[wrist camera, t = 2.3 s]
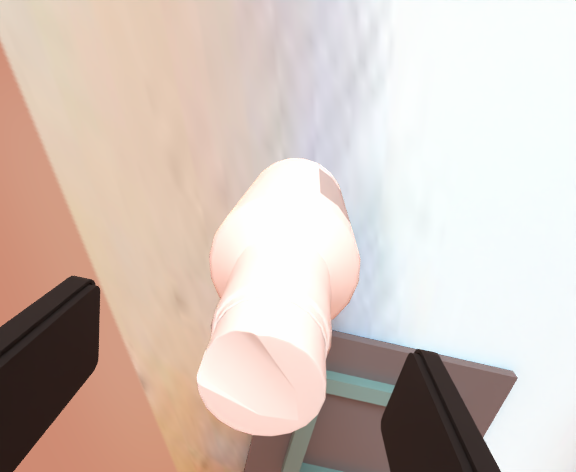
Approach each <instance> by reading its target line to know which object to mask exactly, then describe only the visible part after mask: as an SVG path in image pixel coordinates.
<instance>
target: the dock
mask: <svg viewBox="0 0 576 472" xmlns="http://www.w3.org/2000/svg"><path fill="white" fill-rule="evenodd" d="M415 350H417V349H413V348H408V347H404V346H400V345H395V344H391V343H386V342H382V341H377V340H373V339H369V338H364V337H360V336H355V335H351V334H346V333H342V332H338V331H333V330H332V337H331V348H330V350H329V352H328V355H327V358H326V381H327V384H326V399H325V401H324V403H323V405H322V407H321V409H320V411H319V413H318V415H317V416H316V417H315V418H314V419H313V420H311V421H310V422H309V423H308V424H307V425H306V426H304V427H302V428H300V429H298V430H296V431H294V432H291V433H288V434H282V435H277V436H259V435H253V437H252V441H251V445H250V449H249V453H248V457H247V461H246V465H245V469H244V472H390V468H389V463H388V459H387V455H386V450H385V446H384V442H383V437H382V433H381V419H382V416H383V413H384V411H385V408H386V406H387V404H388V401H389V399H390V396H391V394H392V392H393V389H394V387H395V384H396V382H397V380H398V377H399V375H400V372H401V370H402V368H403V365H404V363H405V360H406V358H407V356H408V354H409V353H414V352H415ZM438 355H439V354H438ZM439 356H440V358H441V360H442V362H443V364H444V366H445V367H446V369H447V371H448V373H449V375H450V377H451V379H452V381H453V383H454V384H455V386H456V388H457V390H458V392H459V394H460V396H461V398H462V399H463V401H464V403H465V405H466V407H467V409H468V411H469V413H470V415H471V416H472V418H473V420H474V422H475V424H476V426H477V428H478V430H479V431H480V433H481V435H482V437H484V435H485V433H486V431H487V430H488V428H489V426H490V425H491V423H492V421H493V419H494V418H495V416H496V414H497V413H498V411H499V409H500V407H501V406H502V404H503V402H504V401H505V399H506V397H507V395H508V394H509V392H510V390H511V389H512V387H513V385H514V383H515V382H516V380H517V376H516V375H515V374H514V372H513V371H510V370H506V369H501V368H497V367H492V366H488V365H484V364H479V363H475V362H470V361H466V360H461V359H457V358H453V357H448V356H444V355H439Z"/></svg>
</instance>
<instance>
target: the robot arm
mask: <svg viewBox="0 0 576 472" xmlns="http://www.w3.org/2000/svg"><path fill="white" fill-rule="evenodd" d="M99 314H100V288H99V287H98V286H95V282H94V281H93V280H91V279H87V278H82V277H77V276H71V277H69V278H67V279H66V280H65V281H63V282H62V283H60V284H59V285H58V286H56V287H55V288H54V289H52V290H51V291H49V292H48V293H47V294H45V295H44V296H43V297H41V298H40V299H38V300H37V301H36V302H34V303H33V304H31V305H30V306H29V307H27V308H26V309H25V310H23V311H22V312H21V313H19V314H18V315H16V316H15V317H14V318H12V319H11V320H10V321H8V322H7V323H5V324H4V325H2V326H1V327H0V472H13V471H14V470H15V469H16V468H17V466H18V465H19V464H20V463H21V461H22V460H23V459H24V458H25V456H26V455H27V454H28V453H29V451H30V450H31V449H32V447H33V446H34V445H35V444H36V443H37V441H38V440H39V439H40V438H41V436H42V435H43V434H44V433H45V431H46V430H47V429H48V428H49V426H50V425H51V424H52V423H53V421H54V420H55V419H56V418H57V416H58V415H59V414H60V413H61V411H62V410H63V408H65V406H66V405H67V404H68V403H69V401H70V400H71V399H72V397H73V396H74V395H75V394H76V392H77V391H78V390H79V389H80V387H81V386H82V385H83V384H84V383H85V381H86V380H87V379H88V378H89V376H90V375H91V374H92V373H93V371H94V370H95V367H96V365H97V362H98V351H99V350H98V349H99ZM381 433H382V437H383V442H384V446H385V450H386V455H387V459H388V463H389V468H390V472H501V471H500V469H499V467H498V465H497V463H496V462H495V460H494V458H493V456H492V454H491V452H490V450H489V448H488V447H487V445H486V443H485V441H484V439H483V437H482V435H481V433H480V431H479V430H478V428H477V426H476V424H475V422H474V420H473V418H472V416H471V415H470V413H469V411H468V409H467V407H466V405H465V403H464V401H463V399H462V398H461V396H460V394H459V392H458V390H457V388H456V386H455V384H454V383H453V381H452V379H451V377H450V375H449V373H448V371H447V369H446V367H445V366H444V364H443V362H442V360H441V358H440V356H439V355H438V354H437V353H435V352H430V351H425V350H421V349H417V350H415V352H414V353H409V354H408V356H407V358H406V360H405V363H404V365H403V368H402V370H401V372H400V375H399V377H398V380H397V382H396V384H395V387H394V389H393V392H392V394H391V396H390V399H389V401H388V404H387V406H386V408H385V411H384V413H383V416H382V419H381Z"/></svg>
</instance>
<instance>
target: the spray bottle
mask: <svg viewBox="0 0 576 472" xmlns="http://www.w3.org/2000/svg"><path fill="white" fill-rule="evenodd" d="M209 258H210V270H211V279H212V281H213V283H214V286H215V288H216V290H217V293H218V295H219V297H220V298H221V300H220V302H219V304H218V306H217V308H216V310H215V313H214V317H213V320H212V323H211V332H212V335H211V339H210V341H209V344H208V346H207V348H206V350H205V353H204V356H203V359H202V362H201V364H200V367H199V370H198V373H197V385H198V391H199V394H200V396H201V398H202V400H203V402H204V404H205V406H206V408H207V409H208V410H209V411H210V412H211V413H212V414H213V415H214V416H215V417H216V418H217V419H218V420H219V421H221V422H223V423H224V424H226V425H228V426H229V427H231V428H233V429H235V430H238V431H241V432H244V433H248V434H251V435H259V436H277V435H282V434H288V433H291V432H294V431H296V430H298V429H300V428H302V427H304V426H306V425H307V424H308V423H309V422H310V421H311V420H313V419H314V418H315V417H316V416H317V415H318V413H319V411H320V409H321V407H322V405H323V403H324V401H325V399H326V384H327V381H326V358H327V355H328V352H329V350H330V348H331V337H332V326H331V320H332V319H334V318H335V317H336V316H337V315H338V314H339V313H340V312H341V311H342V310H343V309H344V307H345V306H346V305H347V304H348V303H349V302H350V299H351V297H352V295H353V293H354V291H355V289H356V286H357V284H358V281H359V271H360V256H359V252H358V248H357V245H356V241H355V237H354V234H353V231H352V227H351V224H350V220H349V217H348V214H347V210H346V207H345V203H344V200H343V197H342V193H341V190H340V186H339V184H338V183H337V181H336V180H335V178H334V177H333V175H332V174H331V173H330V172H329V171H328V170H326V169H325V168H324V167H323V166H321V165H320V164H318V163H316V162H313V161H310V160H307V159H300V158H288V159H285V160H282V161H279V162H276V163H273V164H272V165H271V166H269V167H268V168H267V169H265V170H264V171H262V173H261V174H260V175H259V176H258V178H257V179H256V180H255V181H254V183H253V184H252V185H251V187H250V188H249V189H248V190H247V192H246V193H245V194H244V195H243V197H242V198H241V199H240V201H239V202H238V203H237V204H236V206H235V207H234V208H233V209H232V211H231V212H230V213H229V215H228V216H227V217H226V219H225V220H224V222H223V223H222V224H221V226H220V227H219V229H218V230H217V232H216V233H215V236H214V240H213V244H212V247H211V251H210V256H209Z"/></svg>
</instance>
